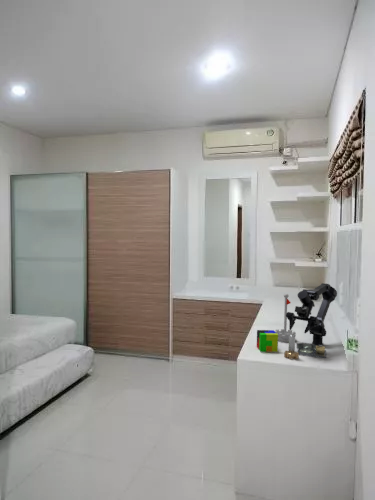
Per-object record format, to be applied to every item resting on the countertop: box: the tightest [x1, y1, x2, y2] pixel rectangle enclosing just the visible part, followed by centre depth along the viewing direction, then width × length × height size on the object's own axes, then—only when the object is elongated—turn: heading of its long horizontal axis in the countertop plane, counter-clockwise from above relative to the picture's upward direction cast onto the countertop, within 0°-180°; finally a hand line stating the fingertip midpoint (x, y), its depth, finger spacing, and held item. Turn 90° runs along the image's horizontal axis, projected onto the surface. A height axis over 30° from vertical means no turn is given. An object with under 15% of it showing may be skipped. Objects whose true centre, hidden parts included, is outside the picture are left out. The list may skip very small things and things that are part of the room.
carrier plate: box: [296, 342, 327, 359], centre depth 215 cm, size 12×16×5 cm
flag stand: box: [274, 293, 297, 343], centre depth 241 cm, size 13×13×30 cm
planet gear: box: [283, 335, 300, 360], centre depth 207 cm, size 8×7×12 cm
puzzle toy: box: [256, 329, 279, 353], centre depth 221 cm, size 10×10×10 cm
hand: (297, 331), depth 213 cm, fingers open, 9 cm apart
